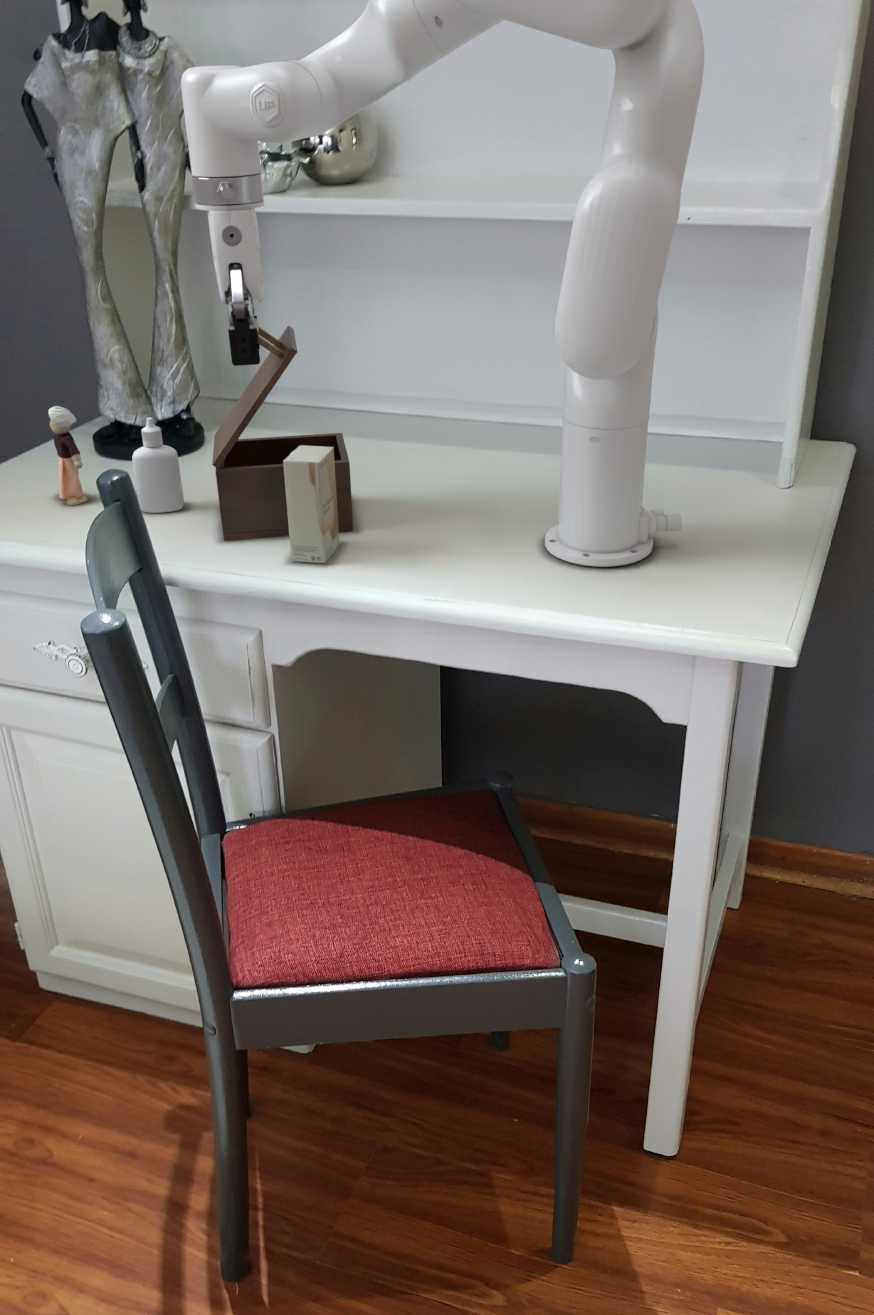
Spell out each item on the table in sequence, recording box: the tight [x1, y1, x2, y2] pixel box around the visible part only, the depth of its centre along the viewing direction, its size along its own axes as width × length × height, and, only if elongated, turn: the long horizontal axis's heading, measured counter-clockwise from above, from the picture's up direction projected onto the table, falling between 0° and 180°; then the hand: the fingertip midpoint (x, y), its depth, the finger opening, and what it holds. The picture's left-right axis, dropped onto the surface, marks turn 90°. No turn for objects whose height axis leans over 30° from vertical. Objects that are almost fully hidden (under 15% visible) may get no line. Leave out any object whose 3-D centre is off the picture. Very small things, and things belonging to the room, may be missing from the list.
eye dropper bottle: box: [131, 417, 185, 514], centre depth 142 cm, size 4×6×12 cm
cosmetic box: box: [283, 445, 341, 564], centre depth 128 cm, size 6×4×12 cm
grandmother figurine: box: [47, 405, 89, 506], centre depth 145 cm, size 8×4×13 cm, turn 47°
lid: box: [211, 317, 298, 469], centre depth 132 cm, size 17×12×6 cm
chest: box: [215, 432, 354, 541], centre depth 139 cm, size 16×12×9 cm
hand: (246, 356), depth 131 cm, fingers closed on lid, 6 cm apart
